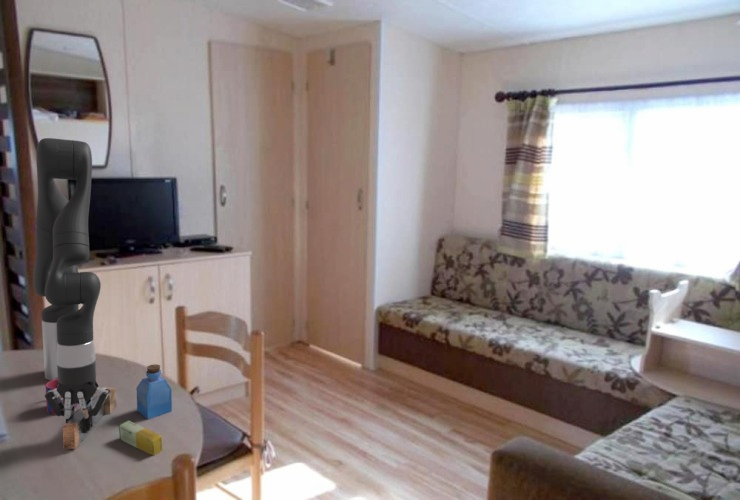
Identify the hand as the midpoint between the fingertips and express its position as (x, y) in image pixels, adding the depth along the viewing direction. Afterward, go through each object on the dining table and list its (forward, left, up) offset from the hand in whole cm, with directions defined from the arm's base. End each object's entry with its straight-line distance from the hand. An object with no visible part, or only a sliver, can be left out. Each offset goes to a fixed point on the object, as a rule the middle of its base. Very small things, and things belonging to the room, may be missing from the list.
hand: (79, 431), depth 119 cm
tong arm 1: (-3, -1, -1) cm, 3 cm away
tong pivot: (-14, 0, -2) cm, 14 cm away
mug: (-16, -11, -2) cm, 20 cm away
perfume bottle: (-13, +13, -2) cm, 18 cm away
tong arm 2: (-3, +1, -1) cm, 3 cm away
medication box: (+3, +14, -2) cm, 15 cm away
